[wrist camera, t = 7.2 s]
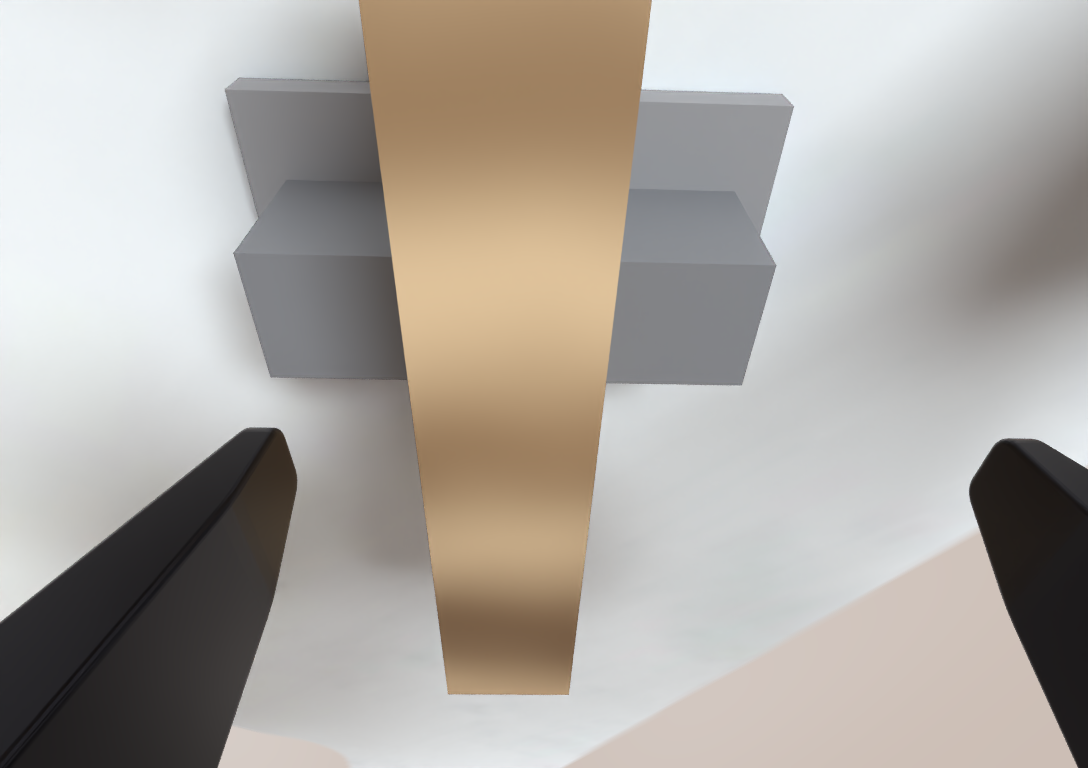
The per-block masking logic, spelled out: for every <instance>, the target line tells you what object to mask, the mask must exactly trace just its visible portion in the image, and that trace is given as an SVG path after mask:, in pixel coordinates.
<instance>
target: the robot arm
mask: <svg viewBox="0 0 1088 768" xmlns="http://www.w3.org/2000/svg"><path fill="white" fill-rule="evenodd" d="M296 490H297V474H296V470H295V467H294V464H293V461H292V458H291V455H290V451H289V448H288V445H287V442H286V439H285V437H284V435H283V433H282V432H281V430H279V429H277V428H252V427H251V428H246V429H244V430H242V431H241V432H239V433H238V434H237V435H236V436H234V437H233V438H232V439H231V440H229V441H228V442H227V443H225V444H224V445H223V446H222V447H220V448H219V449H218V450H217V451H215V452H214V453H213V454H212V455H210V456H209V457H208V458H207V459H205V460H204V461H203V462H202V463H200V464H199V465H198V466H196V467H195V468H194V469H193V470H191V471H190V472H189V473H188V474H186V475H185V476H184V477H183V478H181V479H180V480H179V481H178V482H176V483H175V484H174V485H173V486H171V487H170V488H169V489H167V490H166V491H165V492H164V493H162V494H161V495H160V496H159V497H157V498H156V499H155V500H154V501H152V502H151V503H150V504H149V505H147V506H146V507H145V508H144V509H142V510H141V511H140V512H138V513H137V514H136V515H135V516H133V517H132V518H131V519H130V520H128V521H127V522H126V523H125V524H123V525H122V526H121V527H120V528H118V529H117V530H116V531H115V532H113V533H112V534H111V535H109V536H108V537H107V538H106V539H104V540H103V541H102V542H101V543H99V544H98V545H97V546H96V547H94V548H93V549H92V550H91V551H89V552H88V553H87V554H86V555H84V556H83V557H82V558H80V559H79V560H78V561H77V562H75V563H74V564H73V565H72V566H70V567H69V568H68V569H67V570H65V571H64V572H63V573H62V574H60V575H59V576H58V577H57V578H55V579H54V580H53V581H51V582H50V583H49V584H48V585H46V586H45V587H44V588H43V589H41V590H40V591H39V592H38V593H36V594H35V595H34V596H33V597H31V598H30V599H29V600H28V601H26V602H25V603H24V604H22V605H21V606H20V607H19V608H17V609H16V610H15V611H14V612H12V613H11V614H10V615H9V616H7V617H6V618H5V619H4V620H2V621H1V622H0V768H218V765H219V762H220V759H221V756H222V753H223V749H224V747H225V744H226V741H227V738H228V735H229V732H230V729H231V726H232V723H233V720H234V717H235V714H236V711H237V708H238V705H239V702H240V699H241V696H242V693H243V690H244V687H245V684H246V681H247V678H248V675H249V672H250V669H251V666H252V663H253V660H254V657H255V654H256V651H257V648H258V645H259V642H260V639H261V636H262V633H263V630H264V627H265V624H266V621H267V618H268V615H269V612H270V608H271V605H272V602H273V598H274V594H275V590H276V586H277V581H278V576H279V572H280V567H281V562H282V557H283V553H284V548H285V543H286V538H287V533H288V529H289V524H290V519H291V514H292V510H293V505H294V500H295V495H296ZM969 496H970V502H971V505H972V508H973V511H974V514H975V517H976V520H977V523H978V526H979V529H980V532H981V535H982V537H983V541H984V544H985V547H986V550H987V553H988V556H989V559H990V562H991V565H992V568H993V571H994V574H995V577H996V580H997V583H998V586H999V589H1000V592H1001V595H1002V598H1003V600H1004V603H1005V606H1006V609H1007V611H1008V614H1009V616H1010V618H1011V621H1012V623H1013V625H1014V628H1015V630H1016V632H1017V634H1018V636H1019V639H1020V641H1021V643H1022V645H1023V648H1024V650H1025V652H1026V654H1027V656H1028V659H1029V661H1030V663H1031V665H1032V667H1033V670H1034V672H1035V674H1036V676H1037V678H1038V681H1039V683H1040V685H1041V687H1042V689H1043V692H1044V694H1045V696H1046V698H1047V700H1048V702H1049V705H1050V707H1051V709H1052V711H1053V714H1054V716H1055V718H1056V720H1057V723H1058V725H1059V727H1060V729H1061V731H1062V734H1063V736H1064V738H1065V740H1066V742H1067V745H1068V747H1069V749H1070V751H1071V753H1072V756H1073V758H1074V760H1075V762H1076V764H1077V767H1078V768H1088V469H1086V468H1085V467H1083V466H1082V465H1080V464H1078V463H1077V462H1075V461H1073V460H1072V459H1070V458H1068V457H1067V456H1065V455H1063V454H1062V453H1060V452H1058V451H1057V450H1055V449H1053V448H1052V447H1050V446H1048V445H1047V444H1045V443H1043V442H1041V441H1039V440H1035V439H1011V438H1008V439H1002V440H1000V441H999V442H997V443H996V444H995V445H994V446H993V447H992V449H991V451H990V452H989V454H988V455H987V457H986V458H985V460H984V461H983V463H982V465H981V466H980V468H979V469H978V471H977V472H976V474H975V475H974V477H973V479H972V481H971V483H970V487H969Z"/></svg>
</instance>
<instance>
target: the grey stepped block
mask: <svg viewBox="0 0 1088 768" xmlns="http://www.w3.org/2000/svg"><path fill="white" fill-rule="evenodd" d="M225 92H226V96H227V100H228V104H229V108H230V111H231V115H232V119H233V123H234V127H235V130H236V134H237V138H238V142H239V146H240V149H241V153H242V157H243V161H244V165H245V168H246V172H247V176H248V180H249V184H250V187H251V191H252V195H253V199H254V203H255V206H256V210H257V214H258V218H259V219H258V220H257V221H256V223H255V224H254V226H253V227H252V228H251V230H250V231H249V233H248V234H247V235H246V237H245V238H244V239H243V241H242V242H241V244H240V245H239V246H238V248H237V249H236V251H235V252H234V256H235V260H236V263H237V266H238V270H239V273H240V276H241V280H242V283H243V286H244V290H245V293H246V296H247V300H248V303H249V306H250V310H251V313H252V316H253V320H254V323H255V326H256V330H257V333H258V336H259V340H260V343H261V346H262V350H263V353H264V356H265V360H266V363H267V366H268V370H269V373H270V376H271V377H279V378H338V379H396V380H408V378H407V371H406V363H405V355H404V347H403V340H402V332H401V324H400V316H399V309H398V301H397V293H396V285H395V278H394V270H393V262H392V254H391V247H390V239H389V231H388V223H387V215H386V208H385V200H384V192H383V184H382V177H381V169H380V161H379V153H378V146H377V138H376V130H375V122H374V115H373V107H372V99H371V91H370V84H369V82H360V81H327V80H293V79H260V78H238V79H237V80H236V81H234V82H233V83H232V84H231V85H230V86H228V87H227V88H226V89H225ZM793 108H794V106H793V105H792V104H791V103H790V102H789V101H788V100H787V99H786V97H785V96H784V95H783V94H761V93H728V92H694V91H661V90H641V94H640V102H639V111H638V119H637V127H636V136H635V144H634V152H633V161H632V169H631V178H630V186H629V194H628V203H627V211H626V219H625V228H624V236H623V244H622V253H621V261H620V270H619V278H618V286H617V295H616V303H615V311H614V320H613V328H612V336H611V345H610V353H609V362H608V370H607V378H606V383H630V384H688V385H742V382H743V379H744V375H745V372H746V368H747V365H748V361H749V358H750V355H751V351H752V348H753V344H754V341H755V337H756V334H757V330H758V327H759V323H760V320H761V317H762V313H763V310H764V306H765V303H766V299H767V296H768V292H769V289H770V286H771V282H772V279H773V275H774V272H775V268H776V264H775V262H774V260H773V259H772V257H771V255H770V253H769V252H768V250H767V248H766V246H765V244H764V243H763V241H762V239H761V237H760V233H761V229H762V225H763V222H764V218H765V214H766V210H767V206H768V203H769V199H770V195H771V191H772V187H773V184H774V180H775V176H776V172H777V168H778V165H779V161H780V157H781V153H782V149H783V146H784V142H785V138H786V134H787V130H788V127H789V123H790V119H791V115H792V111H793Z"/></svg>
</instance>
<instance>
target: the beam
mask: <svg viewBox="0 0 1088 768" xmlns="http://www.w3.org/2000/svg"><path fill="white" fill-rule="evenodd" d="M651 2H652V0H359V6H360V14H361V21H362V29H363V37H364V45H365V52H366V60H367V68H368V76H369V84H370V91H371V99H372V107H373V115H374V122H375V130H376V138H377V146H378V153H379V161H380V169H381V177H382V184H383V192H384V200H385V208H386V215H387V223H388V231H389V239H390V247H391V254H392V262H393V270H394V278H395V285H396V293H397V301H398V309H399V316H400V324H401V332H402V340H403V347H404V355H405V363H406V371H407V378H408V386H409V394H410V402H411V410H412V417H413V425H414V433H415V441H416V448H417V456H418V464H419V472H420V479H421V487H422V495H423V503H424V510H425V518H426V526H427V534H428V542H429V549H430V557H431V565H432V573H433V580H434V588H435V596H436V604H437V611H438V619H439V627H440V635H441V642H442V650H443V658H444V666H445V673H446V681H447V689H448V694H517V695H569V688H570V680H571V671H572V663H573V654H574V646H575V638H576V629H577V621H578V613H579V604H580V596H581V588H582V579H583V571H584V562H585V554H586V546H587V537H588V529H589V521H590V512H591V504H592V495H593V487H594V479H595V470H596V462H597V454H598V445H599V437H600V429H601V420H602V412H603V403H604V395H605V387H606V378H607V370H608V362H609V353H610V345H611V336H612V328H613V320H614V311H615V303H616V295H617V286H618V278H619V270H620V261H621V253H622V244H623V236H624V228H625V219H626V211H627V203H628V194H629V186H630V178H631V169H632V161H633V152H634V144H635V136H636V127H637V119H638V111H639V102H640V94H641V85H642V77H643V69H644V60H645V52H646V44H647V35H648V27H649V19H650V10H651Z"/></svg>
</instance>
